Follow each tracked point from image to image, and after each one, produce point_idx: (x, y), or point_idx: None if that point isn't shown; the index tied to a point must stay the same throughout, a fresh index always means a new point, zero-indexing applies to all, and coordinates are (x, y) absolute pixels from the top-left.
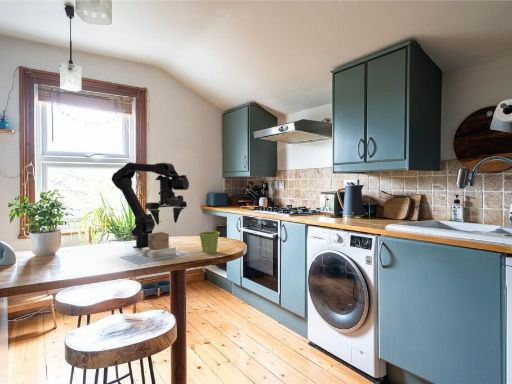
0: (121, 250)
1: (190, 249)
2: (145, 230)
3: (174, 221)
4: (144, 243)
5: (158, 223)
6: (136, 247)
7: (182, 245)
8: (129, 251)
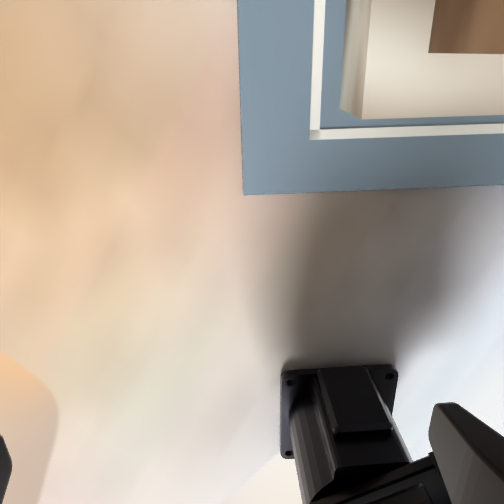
0: (482, 417)
1: (19, 20)
2: (426, 493)
3: (3, 488)
4: (369, 391)
5: (459, 415)
6: (389, 410)
7: (15, 278)
8: (474, 356)
